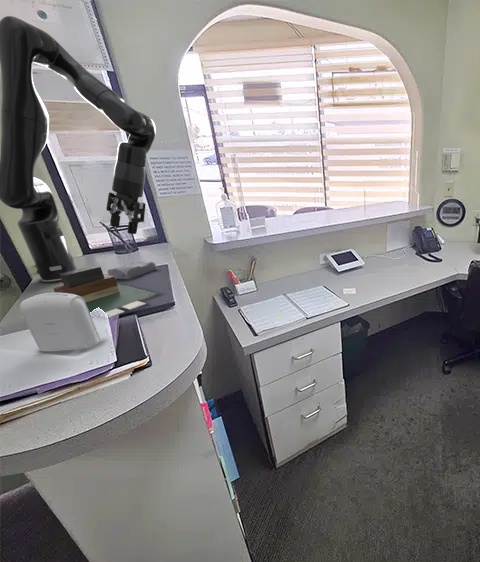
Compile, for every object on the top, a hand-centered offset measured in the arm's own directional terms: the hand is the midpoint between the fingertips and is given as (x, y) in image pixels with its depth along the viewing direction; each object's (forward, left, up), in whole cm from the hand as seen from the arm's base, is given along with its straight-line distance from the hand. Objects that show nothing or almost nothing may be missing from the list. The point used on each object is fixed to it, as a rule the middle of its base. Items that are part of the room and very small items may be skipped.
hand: (123, 230), depth 98 cm
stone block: (-7, +2, -17) cm, 19 cm away
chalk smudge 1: (+23, -19, -17) cm, 34 cm away
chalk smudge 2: (+23, -14, -17) cm, 32 cm away
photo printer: (+32, -31, -17) cm, 47 cm away
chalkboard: (+11, -16, -17) cm, 25 cm away
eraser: (+6, -16, -16) cm, 23 cm away
